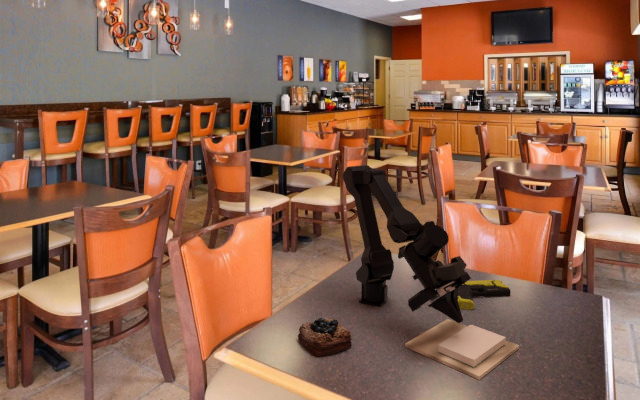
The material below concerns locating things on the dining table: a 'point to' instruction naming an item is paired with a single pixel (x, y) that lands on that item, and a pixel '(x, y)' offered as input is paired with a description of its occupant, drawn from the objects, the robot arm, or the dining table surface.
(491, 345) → the tile
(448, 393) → the dining table surface
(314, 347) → the pastry
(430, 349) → the board
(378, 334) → the dining table surface
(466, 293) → the stun gun
